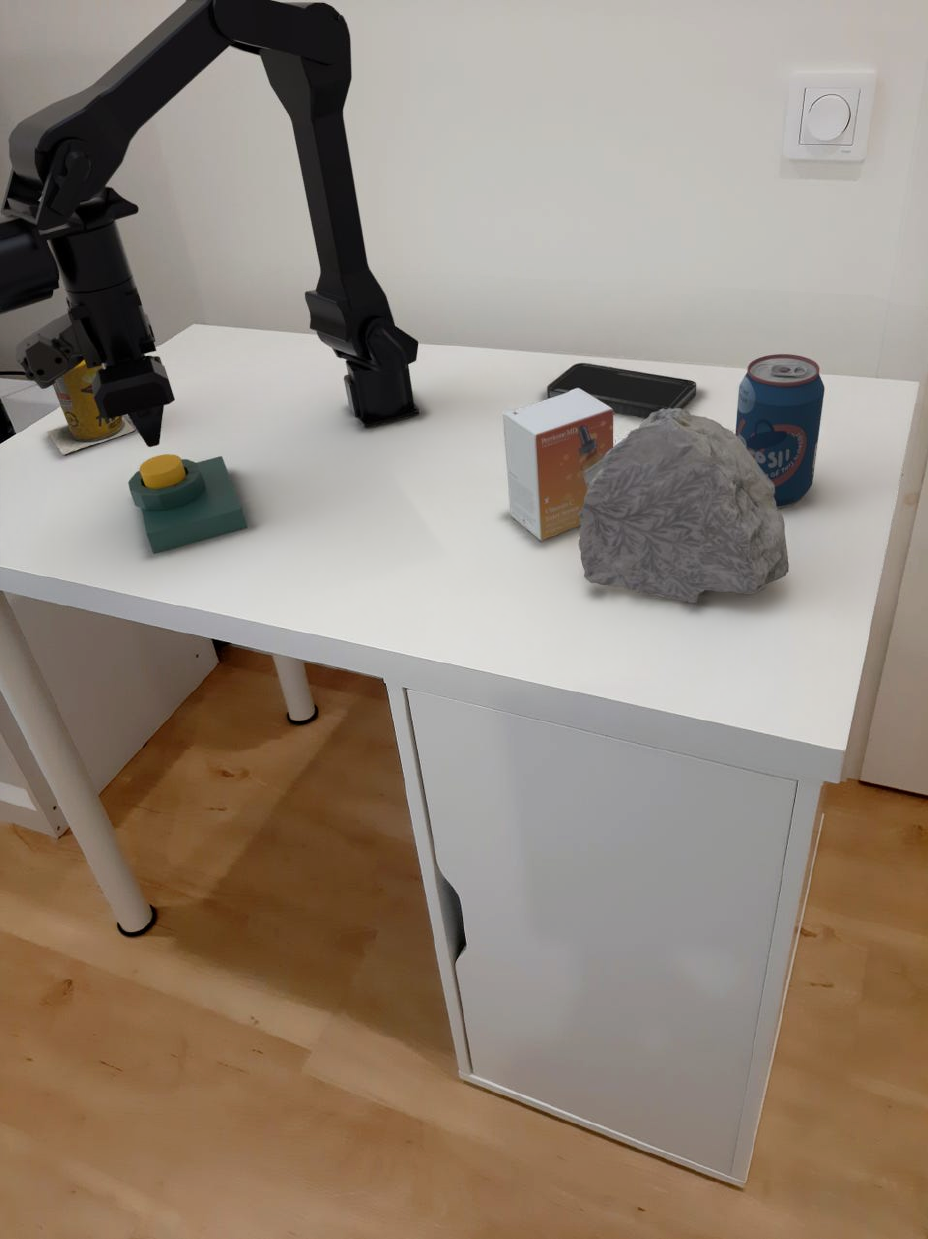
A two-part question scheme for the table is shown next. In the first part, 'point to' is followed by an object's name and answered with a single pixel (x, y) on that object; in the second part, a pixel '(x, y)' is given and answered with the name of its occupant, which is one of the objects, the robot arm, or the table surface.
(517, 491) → the small box
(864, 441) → the table surface
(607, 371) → the phone
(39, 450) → the table surface
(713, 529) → the decorative rock
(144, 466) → the cylinder
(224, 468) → the teal square base
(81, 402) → the condiment
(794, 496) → the soda can
